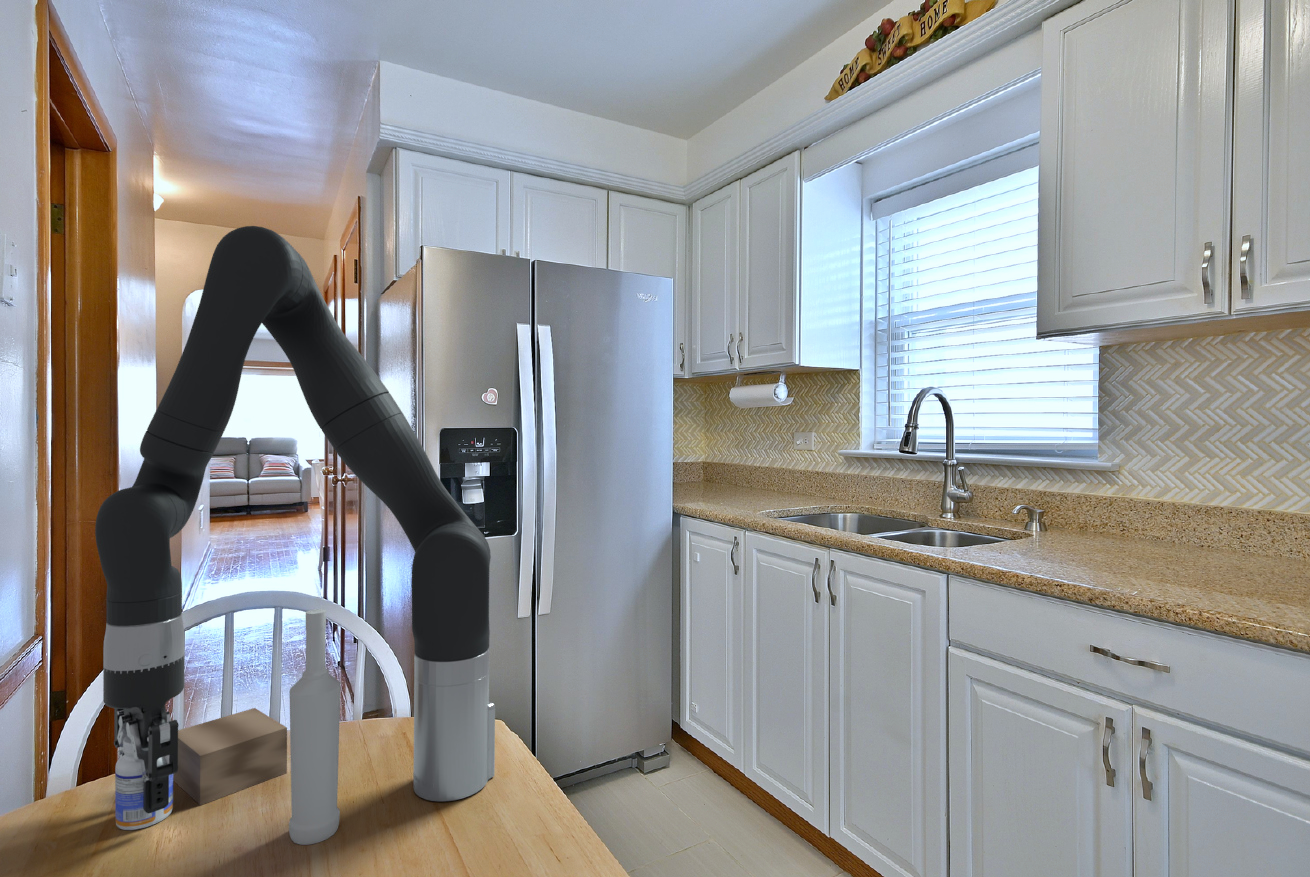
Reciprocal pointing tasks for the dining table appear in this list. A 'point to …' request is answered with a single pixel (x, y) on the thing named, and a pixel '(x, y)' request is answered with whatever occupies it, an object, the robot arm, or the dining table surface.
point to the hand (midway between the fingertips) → (144, 797)
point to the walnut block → (230, 754)
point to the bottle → (314, 742)
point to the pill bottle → (135, 793)
